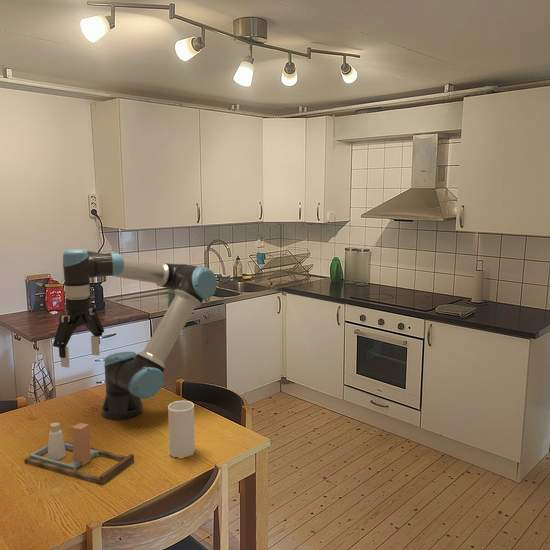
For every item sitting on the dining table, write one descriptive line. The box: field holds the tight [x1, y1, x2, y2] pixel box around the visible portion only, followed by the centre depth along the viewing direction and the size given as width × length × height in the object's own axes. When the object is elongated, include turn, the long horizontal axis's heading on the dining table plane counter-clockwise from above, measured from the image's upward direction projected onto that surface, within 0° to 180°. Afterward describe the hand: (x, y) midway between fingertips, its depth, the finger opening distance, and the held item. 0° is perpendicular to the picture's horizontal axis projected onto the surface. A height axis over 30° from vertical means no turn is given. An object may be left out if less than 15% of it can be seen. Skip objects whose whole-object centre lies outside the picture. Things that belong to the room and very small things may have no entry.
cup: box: [167, 400, 196, 458], centre depth 164 cm, size 8×8×16 cm
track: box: [24, 440, 135, 486], centre depth 158 cm, size 31×14×2 cm, turn 67°
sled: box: [28, 422, 100, 471], centre depth 160 cm, size 18×11×12 cm, turn 67°
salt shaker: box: [47, 422, 67, 461], centre depth 161 cm, size 5×5×11 cm
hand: (81, 360), depth 168 cm, fingers open, 13 cm apart
